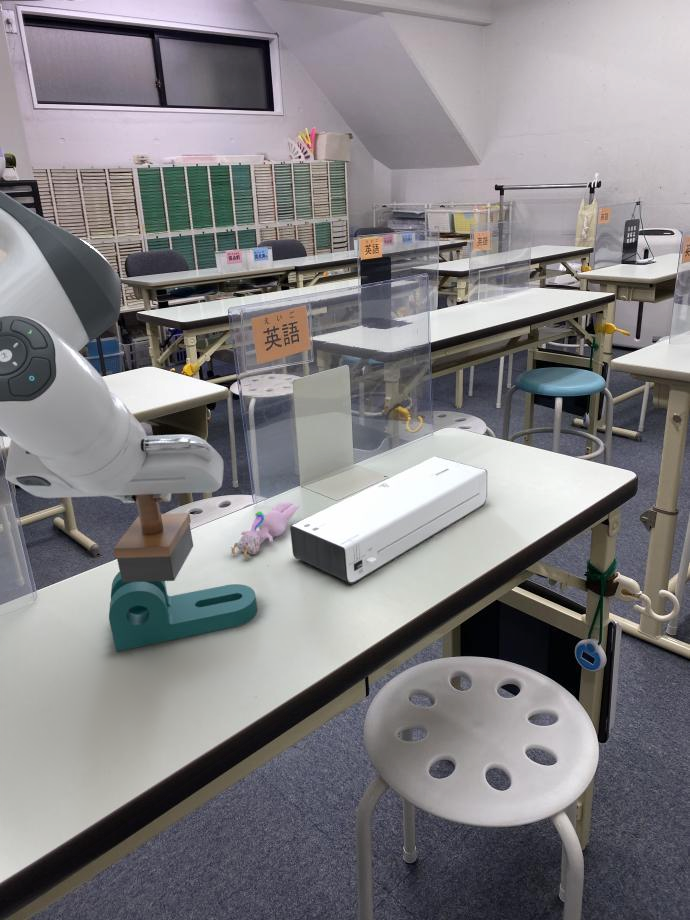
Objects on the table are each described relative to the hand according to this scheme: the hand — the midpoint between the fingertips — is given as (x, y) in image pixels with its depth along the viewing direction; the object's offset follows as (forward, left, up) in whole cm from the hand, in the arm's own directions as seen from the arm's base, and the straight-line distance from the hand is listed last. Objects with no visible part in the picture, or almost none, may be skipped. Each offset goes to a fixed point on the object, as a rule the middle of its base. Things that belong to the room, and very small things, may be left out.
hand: (148, 496), depth 77 cm
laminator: (+28, +28, -21) cm, 45 cm away
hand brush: (0, -1, -8) cm, 8 cm away
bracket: (0, +5, -21) cm, 21 cm away
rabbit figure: (+7, +27, -21) cm, 35 cm away
